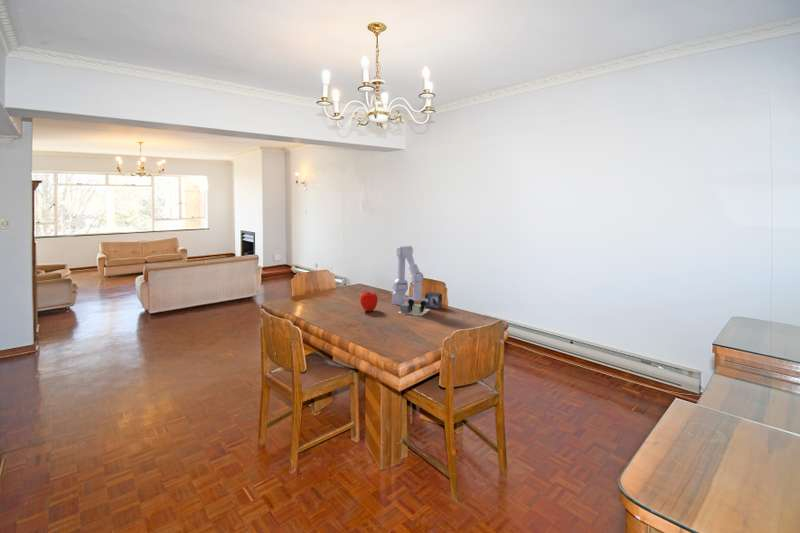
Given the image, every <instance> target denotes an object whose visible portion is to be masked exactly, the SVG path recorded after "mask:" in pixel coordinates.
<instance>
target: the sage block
mask: <svg viewBox="0 0 800 533" xmlns="http://www.w3.org/2000/svg"><path fill="white" fill-rule="evenodd" d="M421 313H422V312H421V304H418V305H416V304H415V305H413V306H412V314H421ZM412 314H411V315H412Z"/></svg>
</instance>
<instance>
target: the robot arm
mask: <svg viewBox="0 0 800 533" xmlns="http://www.w3.org/2000/svg"><path fill="white" fill-rule="evenodd" d="M413 253H414V248H413V247H412V245H404V246H403V245H402V246H400V245H399V246H397V248H396V256H397V257H398V260H397V279H395V280H394V281H393V285H392V289H393V292H392V294H391V305H396V306H401V305H402V304H406V303H409V305H410V308H411V311H412V306H413V304H414V303H415V302H420V305H421V312H423V310H424V309H425V308H426V307H425V304H426V302H428V299H426V298H425V297H422V296H423V295H422V293H423V285H422V284H423V281H424V274H423V273H422V272H420V269H419V266H418V265H417V264H416V263H415V260H414V257H413ZM406 261H407V263H408V265H409V267H408V269H409V271H410V275H411V284H412V296H406V294H407V291H408V290H409V285H408V280H406V276H405V275H406Z"/></svg>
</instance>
